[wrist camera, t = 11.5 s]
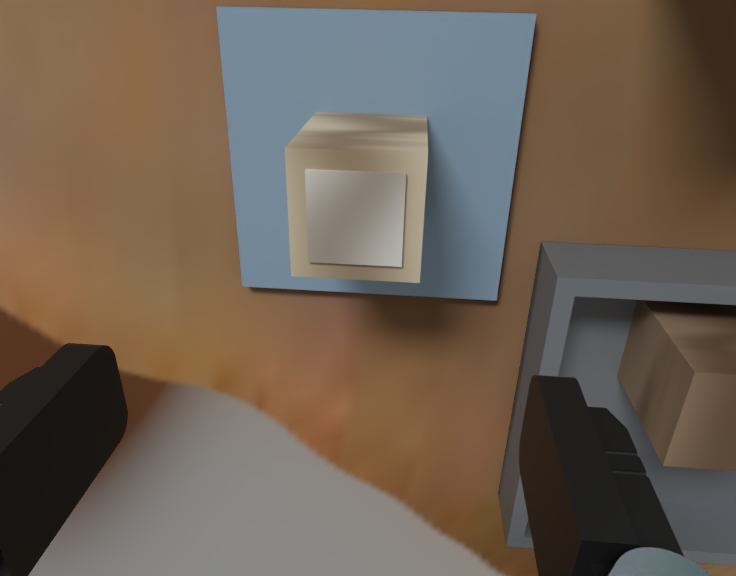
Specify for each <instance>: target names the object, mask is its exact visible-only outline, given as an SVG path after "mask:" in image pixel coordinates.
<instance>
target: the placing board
mask: <svg viewBox="0 0 736 576" xmlns="http://www.w3.org/2000/svg"><path fill="white" fill-rule="evenodd" d="M216 9H217V20H218V30H219V41H220V52H221V62H222V73H223V84H224V94H225V105H226V116H227V126H228V137H229V148H230V158H231V169H232V180H233V190H234V201H235V212H236V222H237V233H238V243H239V254H240V265H241V275H242V286H243V287H261V288H279V289H297V290H315V291H333V292H351V293H369V294H387V295H405V296H423V297H441V298H459V299H476V300H494V301H497V295H498V287H499V280H500V273H501V266H502V259H503V251H504V244H505V237H506V230H507V223H508V215H509V208H510V201H511V194H512V187H513V179H514V172H515V165H516V158H517V151H518V143H519V136H520V129H521V122H522V115H523V107H524V100H525V93H526V86H527V79H528V71H529V64H530V57H531V50H532V43H533V35H534V28H535V21H536V14H534V13H493V12H449V11H405V10H361V9H317V8H273V7H229V6H219V7H216ZM316 112H333V113H363V114H393V115H423V116H427V131H428V165H427V180H426V195H425V211H424V226H423V241H422V256H421V272H420V283H410V282H391V281H372V280H353V279H334V278H316V277H297V276H291V264H290V244H289V224H288V205H287V185H286V165H285V147H286V146H287V145H288V144H289V142H290V141H291V140H292V139H293V138H294V137H295V136H296V134H297V133H298V132H299V131H300V130H301V129H302V127H303V126H304V125H305V124H306V123H307V122H308V121H309V119H310V118H311V117H312V116H313V115H314V114H315V113H316Z"/></svg>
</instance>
